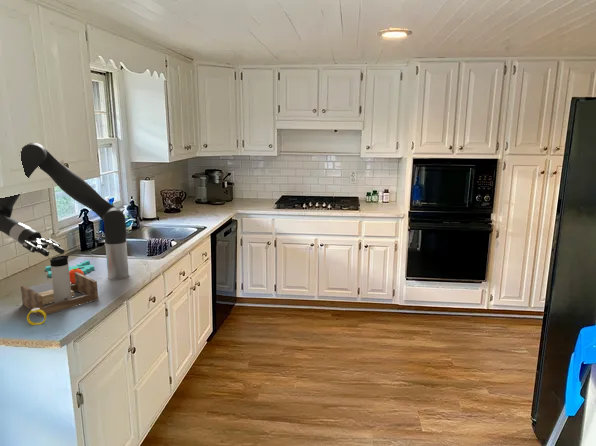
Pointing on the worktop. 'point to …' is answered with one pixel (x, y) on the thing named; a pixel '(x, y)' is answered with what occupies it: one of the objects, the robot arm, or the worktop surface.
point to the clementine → (72, 274)
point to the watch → (33, 312)
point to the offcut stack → (50, 296)
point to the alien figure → (82, 266)
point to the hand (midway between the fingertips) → (56, 253)
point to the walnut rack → (82, 285)
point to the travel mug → (60, 278)
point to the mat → (42, 287)
